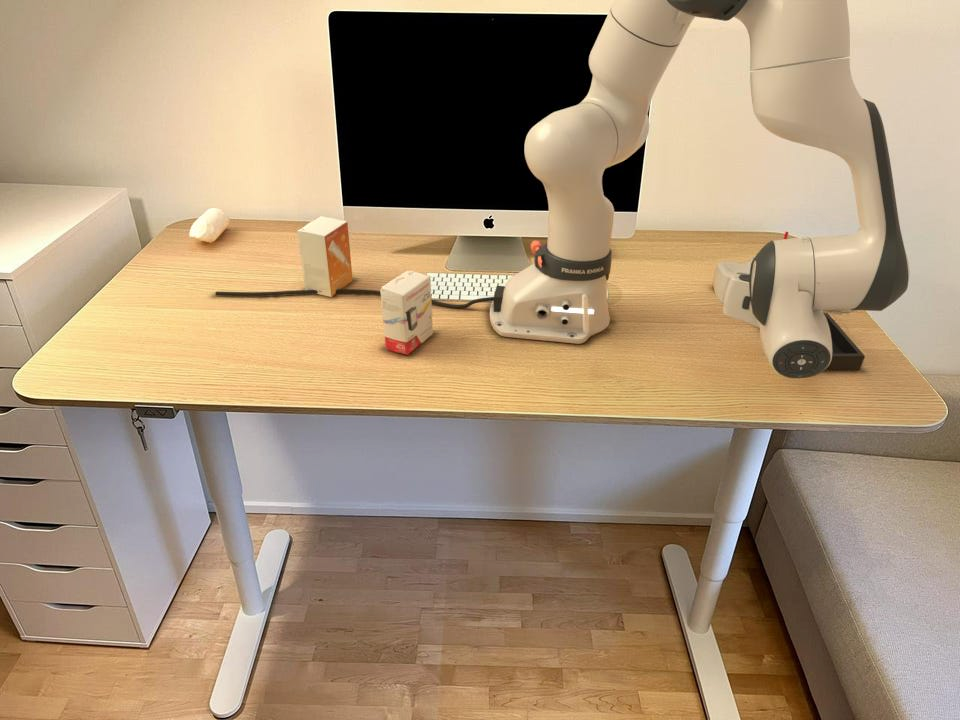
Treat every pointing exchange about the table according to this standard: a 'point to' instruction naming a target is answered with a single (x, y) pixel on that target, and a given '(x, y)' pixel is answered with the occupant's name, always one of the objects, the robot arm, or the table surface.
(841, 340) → the tray
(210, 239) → the roll
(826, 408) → the table surface
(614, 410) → the table surface
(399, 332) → the ink box
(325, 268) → the small box
